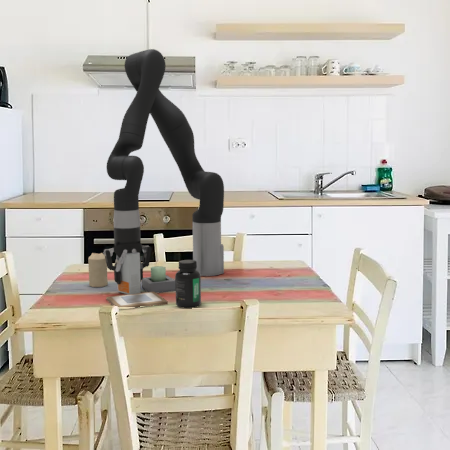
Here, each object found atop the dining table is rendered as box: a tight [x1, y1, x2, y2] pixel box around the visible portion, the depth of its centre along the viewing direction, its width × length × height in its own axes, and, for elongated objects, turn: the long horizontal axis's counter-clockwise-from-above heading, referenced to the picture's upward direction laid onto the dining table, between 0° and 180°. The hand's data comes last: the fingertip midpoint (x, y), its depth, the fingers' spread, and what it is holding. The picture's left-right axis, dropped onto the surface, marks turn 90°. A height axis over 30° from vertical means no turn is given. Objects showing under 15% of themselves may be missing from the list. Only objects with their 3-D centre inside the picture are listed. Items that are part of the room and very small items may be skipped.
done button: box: [150, 265, 167, 282], centre depth 198 cm, size 4×4×4 cm
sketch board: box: [105, 291, 169, 307], centre depth 185 cm, size 14×12×1 cm
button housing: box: [141, 274, 176, 294], centre depth 199 cm, size 8×8×3 cm
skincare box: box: [115, 252, 142, 295], centre depth 194 cm, size 6×4×12 cm
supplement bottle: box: [174, 259, 202, 309], centre depth 180 cm, size 7×7×12 cm
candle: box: [87, 252, 108, 288], centre depth 204 cm, size 6×6×10 cm
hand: (128, 282), depth 195 cm, fingers closed on skincare box, 5 cm apart
